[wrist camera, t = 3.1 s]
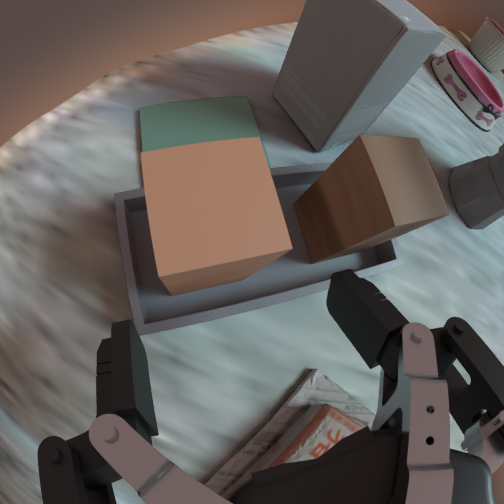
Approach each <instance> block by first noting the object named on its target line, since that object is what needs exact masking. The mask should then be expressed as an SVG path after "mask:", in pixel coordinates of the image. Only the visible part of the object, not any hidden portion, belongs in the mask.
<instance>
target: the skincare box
mask: <svg viewBox="0 0 504 504" xmlns="http://www.w3.org/2000/svg"><path fill="white" fill-rule="evenodd" d="M445 36H446V34H445V33H444V32H443V31H442V30H441V29H440V28H439V27H438V26H437V25H435V23H433V22H432V21H431V20H430V19H429V18H427V17H426V16H425V15H424V14H423V13H422V12H420V11H419V10H418V9H417V8H415V7H414V6H413V5H412V4H410V3H409V2H407V1H406V0H306V3H305V6H304V9H303V11H302V14H301V16H300V19H299V22H298V24H297V27H296V29H295V32H294V35H293V38H292V40H291V43H290V46H289V48H288V51H287V54H286V57H285V59H284V62H283V65H282V68H281V70H280V73H279V76H278V79H277V82H276V85H275V88H274V90H273V93H272V95H273V97H274V98H275V99H276V100H277V101H278V103H279V104H280V105H281V106H282V107H283V109H284V110H285V111H286V112H287V114H288V115H289V116H290V117H291V118H292V120H293V121H294V122H295V124H296V125H297V126H298V127H299V129H300V130H301V131H302V133H303V134H304V135H305V137H306V138H307V139H308V141H309V142H310V143H311V145H312V146H313V147H314V149H315V150H316V151H317V152H318V153H319V152H322V151H324V150H327V149H329V148H332V147H334V146H337V145H340V144H342V143H345V142H348V141H350V140H353V139H356V138H357V137H358V136H359V135H363V134H364V133H365V132H366V131H367V129H368V128H369V127H370V126H371V125H372V124H373V122H374V121H375V120H376V119H377V118H378V116H379V115H380V114H381V113H382V112H383V111H384V109H385V108H386V107H387V106H388V105H389V103H390V102H391V101H392V100H393V99H394V98H395V96H396V95H397V94H398V93H399V92H400V90H401V89H402V88H403V87H404V86H405V85H406V83H407V82H408V81H409V80H410V79H411V77H412V76H413V75H414V74H415V73H416V71H417V70H418V69H419V68H420V67H421V65H422V64H423V63H424V62H425V61H426V59H427V58H428V57H429V56H430V55H431V53H432V52H433V51H434V50H435V49H436V47H437V46H438V45H439V44H440V42H441V41H442V40H443V39H444V38H445Z"/></svg>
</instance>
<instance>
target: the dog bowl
mask: <svg viewBox="0 0 504 504" xmlns="http://www.w3.org/2000/svg"><path fill="white" fill-rule="evenodd" d="M431 67H432V70H433V72H434V74H435V76H436V78H437V80H438V82H439V83H440V85H441V86H442V88H443V89H444V91H445V92H446V93H447V95H448V96H449V97H450V99H451V100H452V101H453V102H454V104H455V105H456V106H457V107H458V108H459V109H460V111H461V112H462V113H463V114H464V115H465V116H466V117H467V118H468V119H469V120H470V121H471V122H472V123H473V124H474V125H475V126H476V127H478V128H479V129H481V130H482V131H485V132H488V131H490V129H491V128H492V126H493V125H494V124H495V122H496V121H497V119H498V118H499V117H500V116H501V114H502V113H503V111H504V103H503V101H502V98H501V96H500V94H499V92H498V91H497V89H496V88H495V86H494V85H493V83H492V82H491V80H490V79H489V78H488V76H487V75H486V74H485V73H484V72H483V70H482V69H481V68H480V67H479V66H478V65H477V64H476V63H475V62H474V61H473V60H472V59H471V58H470V57H469V56H467V55H466V54H465V53H463V52H462V51H460V50H457V49H454V50H452V51H450V52H447V53H446V54H444V55H443V56H441V57H439V58H437V59H434V60H432V61H431Z"/></svg>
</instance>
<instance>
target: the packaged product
mask: <svg viewBox="0 0 504 504" xmlns="http://www.w3.org/2000/svg"><path fill="white" fill-rule="evenodd" d="M375 416H376V415H375V414H374V413H373V412H371V411H370V410H369V409H367V408H366V407H365V406H364V405H362V404H361V403H360V402H359V401H357V400H356V399H355V398H354V397H353V396H351V395H350V394H349V393H347V392H346V391H345V390H343V389H342V388H341V387H340V386H338V385H337V384H336V383H334V382H333V381H332V380H331V379H329V378H328V377H327V376H325V375H324V374H323V373H322V372H320V371H319V370H318V369H313V370H312V371H311V372H310V373H309V374H308V376H307V377H306V378H305V379H304V380H303V381H302V383H301V384H300V385H299V386H298V387H297V388H296V390H295V391H294V392H293V393H292V395H291V396H290V397H289V398H288V399H287V401H286V402H285V403H284V404H283V405H282V407H281V408H280V409H279V410H278V411H277V413H276V414H275V415H274V416H273V418H272V419H271V420H270V421H269V422H268V423H267V424H266V425H265V426H264V427H263V428H262V429H261V430H260V431H259V432H258V433H257V434H256V435H255V436H254V437H253V438H252V439H251V440H250V441H249V442H248V443H247V444H246V445H245V446H244V447H243V448H242V449H241V450H240V451H239V452H237V453H236V454H235V455H234V456H233V457H232V458H230V459H229V460H228V461H227V462H226V463H225V464H224V465H223V466H222V467H221V468H220V469H219V470H218V471H217V472H216V473H215V474H214V475H213V477H212V478H211V479H210V480H209V481H207V482H206V483H205V484H203V485H204V486H206V487H207V488H209V489H210V490H212V491H213V492H215V493H216V494H218V495H220V496H221V497H223V498H224V499H226V500H227V499H228V497H229V496H230V495H231V494H232V492H233V491H234V490H235V489H236V488H238V487H239V486H240V485H241V484H243V483H244V482H245V481H247V480H249V479H251V473H254V472H257V471H261V470H264V469H267V468H270V467H273V466H276V465H279V464H282V463H290V462H297V461H304V460H310V459H316V458H318V457H320V456H321V455H322V454H324V453H325V452H326V451H328V450H329V449H330V448H331V447H333V446H334V445H335V444H336V443H338V442H339V441H340V440H341V439H343V438H345V437H347V436H349V435H351V434H353V433H355V432H357V431H359V430H360V429H362V428H364V427H366V426H368V427H369V429H370V430H371V428H372V424H373V421H374V418H375Z"/></svg>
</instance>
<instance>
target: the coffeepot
mask: <svg viewBox="0 0 504 504" xmlns="http://www.w3.org/2000/svg"><path fill="white" fill-rule="evenodd" d="M449 185H450V191H451V196H452V199H453V202H454V204H455V207H456V209H457V211H458V213H459V215H460V216H461V218H462V219H463V221H464V222H465V223H466V224H467V225H468V226H469V227H470V228H472V229H483V228H485V227H486V226H488V225H490V224H491V223H493V222H494V221H496V220H497V219H499V218H500V217H502V216H503V215H504V144H503V145H502V146H500V147H499V152H498V153H497V154H495V155H494V156H492V157H491V156H486V157H483V158H480V159H477V160H474V161H471V162H468V163H465V164H462V165H459V166H457V167H454V168H453V171H452V173H451V175H450V179H449Z"/></svg>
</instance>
